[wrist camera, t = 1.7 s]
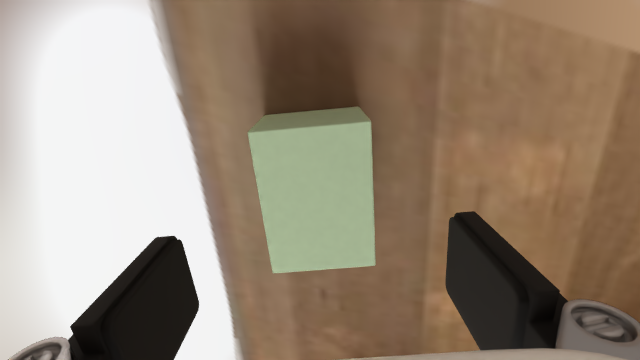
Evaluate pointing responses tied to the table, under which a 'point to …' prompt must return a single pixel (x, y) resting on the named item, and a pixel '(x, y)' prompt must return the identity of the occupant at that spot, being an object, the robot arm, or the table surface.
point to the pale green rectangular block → (316, 188)
